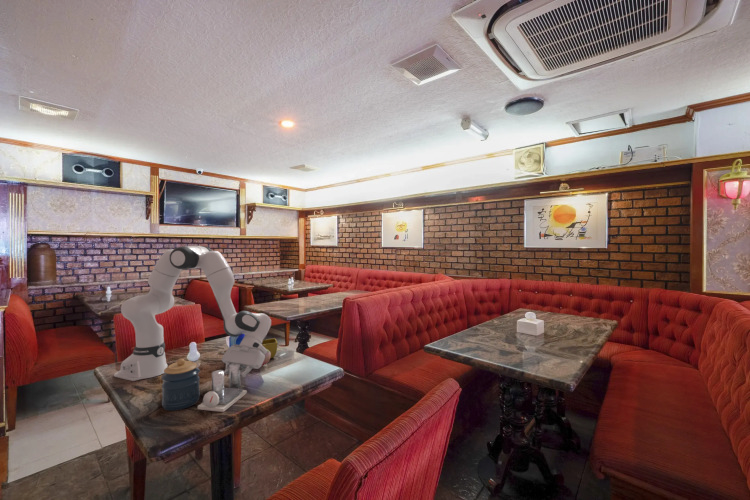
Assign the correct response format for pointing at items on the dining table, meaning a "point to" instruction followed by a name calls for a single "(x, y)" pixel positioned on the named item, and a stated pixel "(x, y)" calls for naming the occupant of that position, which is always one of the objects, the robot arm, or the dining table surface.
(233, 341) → the beer can
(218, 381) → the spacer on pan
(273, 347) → the flower pot
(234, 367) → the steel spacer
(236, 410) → the dining table surface
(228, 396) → the grey square plate
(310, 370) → the dining table surface
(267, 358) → the decorative fruit
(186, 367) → the canister
